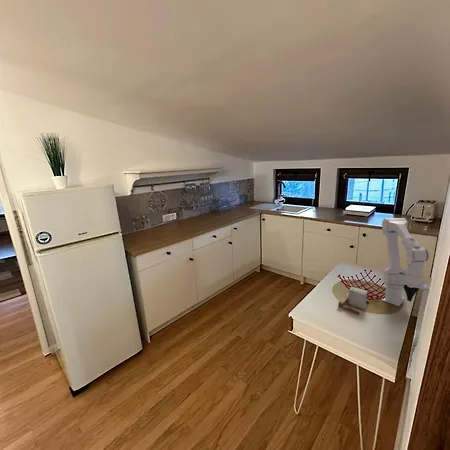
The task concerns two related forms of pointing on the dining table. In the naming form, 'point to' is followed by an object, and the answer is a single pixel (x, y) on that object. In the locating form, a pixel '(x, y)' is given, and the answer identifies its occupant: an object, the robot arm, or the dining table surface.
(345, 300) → the end stop
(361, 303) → the medicine box
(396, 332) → the dining table surface
